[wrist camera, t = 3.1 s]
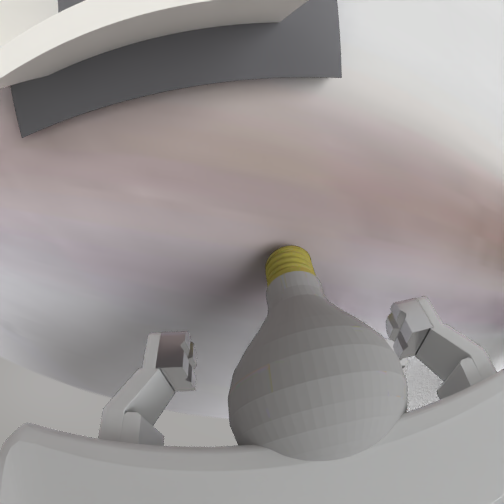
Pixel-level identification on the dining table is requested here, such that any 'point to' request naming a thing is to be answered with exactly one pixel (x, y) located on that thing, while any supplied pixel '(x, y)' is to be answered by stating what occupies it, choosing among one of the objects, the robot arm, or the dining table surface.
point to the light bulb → (313, 373)
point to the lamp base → (153, 49)
